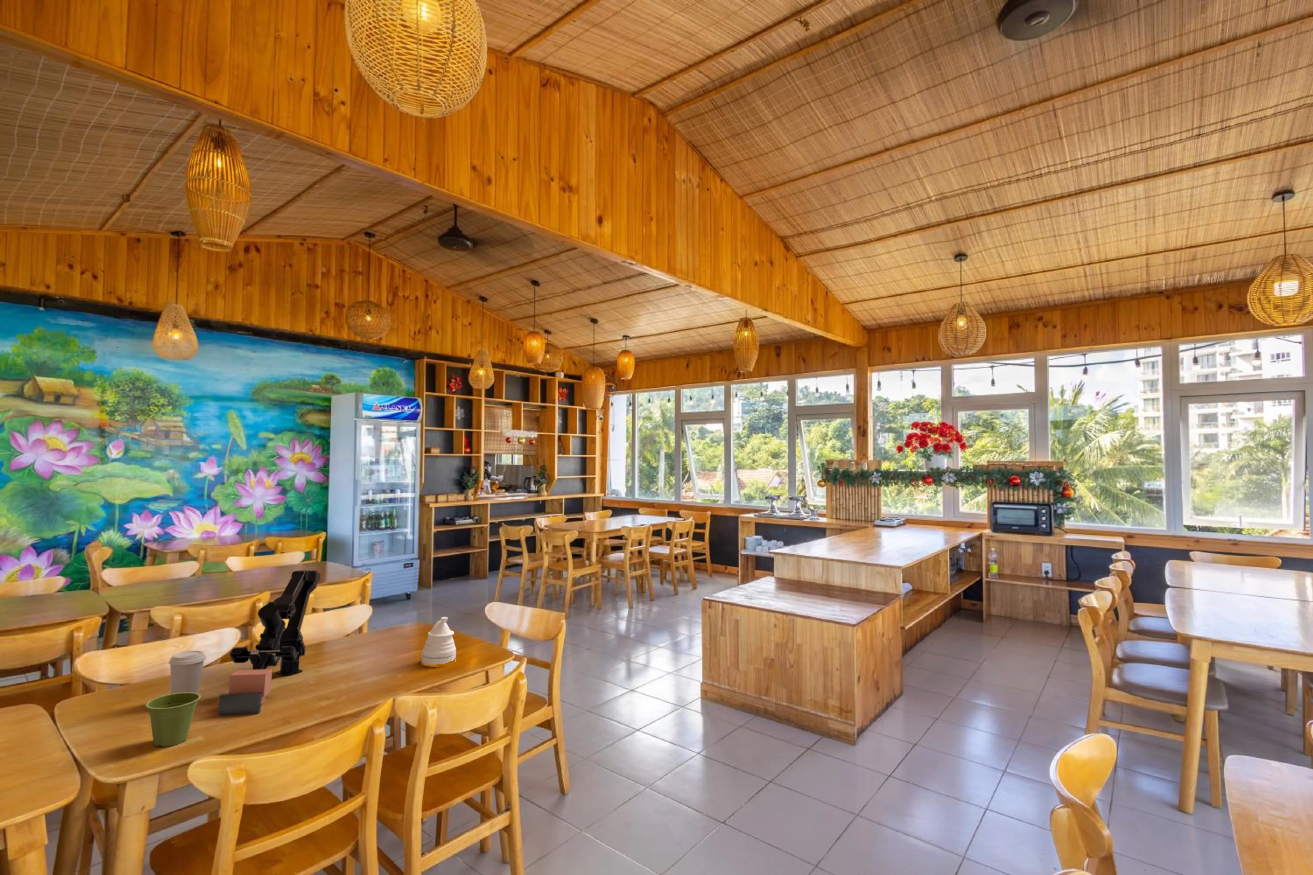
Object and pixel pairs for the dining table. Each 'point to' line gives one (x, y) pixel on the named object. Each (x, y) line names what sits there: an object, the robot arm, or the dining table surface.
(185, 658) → the coffee cup
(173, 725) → the plant pot
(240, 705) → the dark grey block
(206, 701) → the dining table surface
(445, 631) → the honey pot
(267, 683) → the reddish brown stepped block
